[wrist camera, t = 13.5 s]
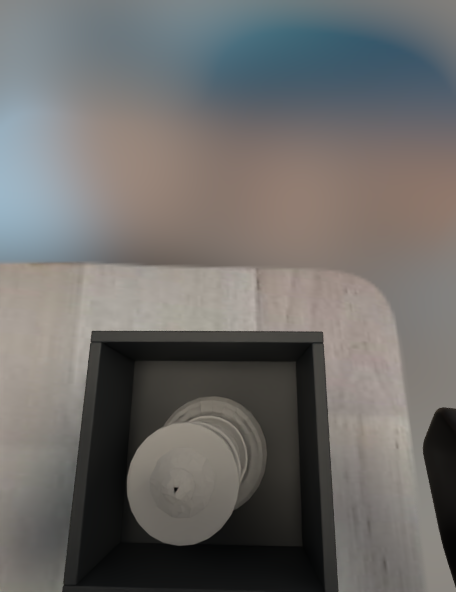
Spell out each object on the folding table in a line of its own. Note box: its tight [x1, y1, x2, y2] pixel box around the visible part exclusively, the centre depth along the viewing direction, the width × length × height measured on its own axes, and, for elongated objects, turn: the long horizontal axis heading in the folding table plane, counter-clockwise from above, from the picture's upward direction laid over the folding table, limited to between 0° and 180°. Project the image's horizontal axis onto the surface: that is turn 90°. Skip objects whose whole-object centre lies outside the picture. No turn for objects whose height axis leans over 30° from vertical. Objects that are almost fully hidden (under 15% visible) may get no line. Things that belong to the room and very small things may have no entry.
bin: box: [62, 331, 338, 592], centre depth 15 cm, size 8×8×5 cm
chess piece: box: [127, 396, 267, 546], centre depth 12 cm, size 4×4×10 cm
